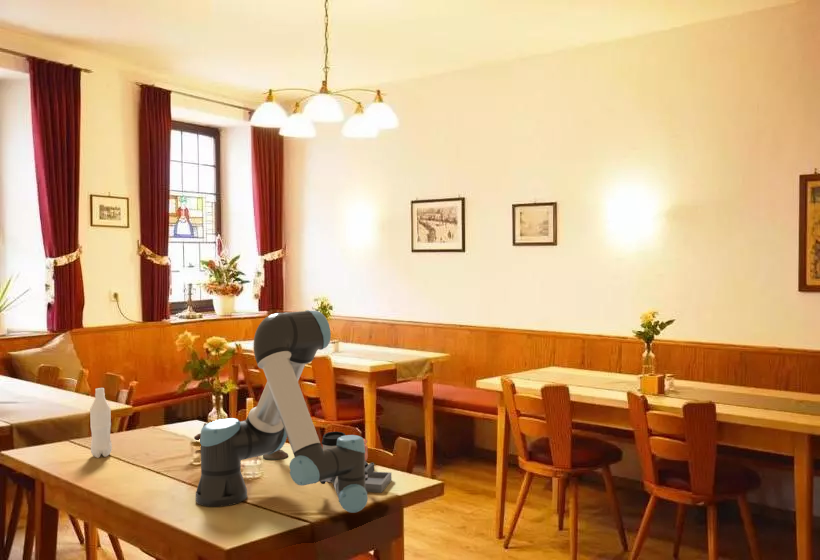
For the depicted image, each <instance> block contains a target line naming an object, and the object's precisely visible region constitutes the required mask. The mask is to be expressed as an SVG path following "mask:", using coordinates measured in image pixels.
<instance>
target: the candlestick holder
mask: <svg viewBox="0 0 820 560" xmlns="http://www.w3.org/2000/svg"><path fill="white" fill-rule="evenodd" d="M288 457H289V453H287V452H285V450H283V449H280V450H278V451H276V452H273V453H271V454H267V455H262V458H263V459H264V460H267V461H278V460H279V461H280V460H284V459H287V458H288Z"/></svg>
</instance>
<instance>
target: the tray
mask: <svg viewBox="0 0 820 560" xmlns="http://www.w3.org/2000/svg"><path fill="white" fill-rule="evenodd" d="M391 481H392V472H391V471H390V472H389V471H388V472H387V471H374V472H373V473H372V474H371V475H370V476H369V477H368V480H366V481H365V489H366V492H367V493H381V494H382V493H383V492H384V491H385V489H386V488H387V487H388V485H389V484H390V483H391Z"/></svg>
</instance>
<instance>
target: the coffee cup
mask: <svg viewBox="0 0 820 560" xmlns="http://www.w3.org/2000/svg"><path fill="white" fill-rule="evenodd" d="M345 435H346V433H345V432H342V431H328V432H326V433H323V436H322V440H321V441H320V443H321V445H322V448H323V450H326V449H330V448H334V447H337V445H336V444H337V439H338V438H339V437H341V436H345ZM326 482H328V483H331V484H333V482H331V481H330V480H329V481H326Z"/></svg>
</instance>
